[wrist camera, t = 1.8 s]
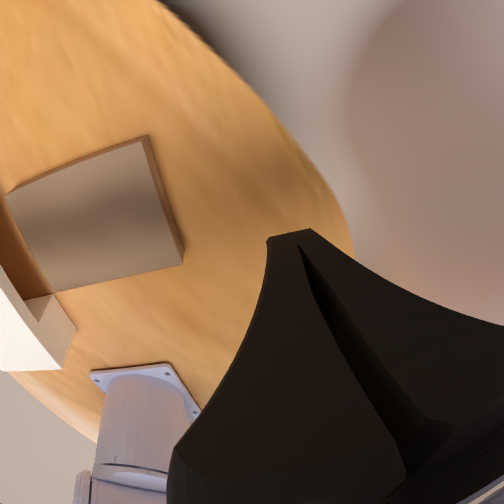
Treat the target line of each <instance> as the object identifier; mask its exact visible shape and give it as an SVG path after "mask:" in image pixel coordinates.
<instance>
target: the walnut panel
mask: <svg viewBox="0 0 504 504" xmlns="http://www.w3.org/2000/svg"><path fill="white" fill-rule="evenodd" d="M4 198H5V200H6V202H7V205H8V207H9V209H10V211H11V214H12V216H13V218H14V220H15V222H16V224H17V226H18V228H19V230H20V232H21V234H22V236H23V238H24V240H25V242H26V244H27V246H28V248H29V250H30V252H31V254H32V255H33V257H34V259H35V261H36V263H37V265H38V266H39V268H40V270H41V272H42V273H43V275H44V277H45V278H46V280H47V282H48V283H49V285H50V287H51V288H52V290H53V292H54V293H56V292H60V291H65V290H69V289H74V288H78V287H83V286H87V285H92V284H96V283H101V282H105V281H110V280H114V279H119V278H123V277H128V276H132V275H137V274H141V273H146V272H150V271H155V270H159V269H164V268H169V267H173V266H178V265H182V264H183V257H184V247H183V244H182V241H181V238H180V236H179V233H178V230H177V227H176V224H175V221H174V218H173V215H172V212H171V209H170V206H169V203H168V200H167V197H166V194H165V190H164V187H163V184H162V181H161V178H160V175H159V171H158V168H157V165H156V161H155V158H154V155H153V152H152V148H151V145H150V141H149V138H148V135H145V136H141V137H138V138H135V139H132V140H129V141H126V142H123V143H120V144H117V145H114V146H111V147H108V148H105V149H103V150H100V151H97V152H94V153H92V154H89V155H87V156H84V157H81V158H79V159H76V160H74V161H71V162H69V163H66V164H64V165H61V166H59V167H57V168H54V169H52V170H50V171H47V172H45V173H43V174H41V175H39V176H36V177H34V178H32V179H30V180H28V181H26V182H23V183H21V184H19V185H17V186H16V187H15V188H13V189H12V190H11V191H10V192H8V193H7V194H6V195H5V196H4Z"/></svg>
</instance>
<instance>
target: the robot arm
mask: <svg viewBox="0 0 504 504" xmlns="http://www.w3.org/2000/svg"><path fill="white" fill-rule="evenodd" d="M266 244H267V262H266V269H265V274H264V279H263V284H262V288H261V292H260V295H259V299H258V302H257V306H256V309H255V312H254V314H253V317H252V320H251V323H250V325H249V327H248V330H247V332H246V335H245V337H244V339H243V341H242V343H241V346H240V348H239V350H238V352H237V354H236V356H235V358H234V360H233V362H232V364H231V365H230V367H229V369H228V371H227V373H226V374H225V376H224V377H223V379H222V381H221V382H220V384H219V385H218V387H217V389H216V390H215V392H214V393H213V395H212V397H211V398H210V400H209V401H208V403H207V404H206V406H205V407H204V409H203V410H202V411H201V410H200V408H199V407H198V405H197V404H196V403H195V401H194V400H193V398H192V397H191V395H190V394H189V392H188V391H187V389H186V388H185V386H184V385H183V383H182V382H181V380H180V379H179V377H178V376H177V374H176V373H175V371H174V370H173V368H172V366H171V365H169V364H166V363H163V364H156V365H148V366H140V367H131V368H122V369H112V370H101V371H92V372H90V374H89V377H90V378H91V379H92V381H93V382H94V383H95V384H96V385H97V386H98V387H99V388H100V389H101V390H102V391H103V392H104V394H105V400H104V406H103V411H102V417H101V423H100V429H99V435H98V442H97V449H96V457H95V463H94V467H93V471H92V476H90V475H91V472H90V471H87V470H83V472H81V473H79V474H77V476H76V482H75V490H74V499H73V504H468V503H470V502H471V501H473V500H475V499H476V498H478V497H480V496H481V495H483V494H484V493H486V492H487V491H489V490H490V489H492V488H494V487H495V486H497V485H498V484H499V483H501V482H502V481H504V326H502V325H497V324H493V323H490V322H486V321H483V320H480V319H477V318H474V317H471V316H467V315H464V314H462V313H459V312H456V311H453V310H450V309H448V308H445V307H443V306H441V305H438V304H436V303H433V302H431V301H428V300H426V299H424V298H422V297H419V296H417V295H415V294H413V293H411V292H409V291H407V290H405V289H403V288H401V287H399V286H397V285H395V284H393V283H391V282H390V281H388V280H386V279H384V278H382V277H381V276H379V275H377V274H376V273H374V272H372V271H371V270H369V269H367V268H366V267H364V266H363V265H361V264H360V263H358V262H357V261H355V260H354V259H352V258H351V257H349V256H348V255H346V254H345V253H344V252H342V251H341V250H339V249H338V248H337V247H335V246H334V245H332V244H331V243H330V242H328V241H327V240H326V239H324V238H323V237H322V236H320V235H319V234H318V233H316V232H315V231H314V230H312V229H311V228H309V229H304V230H300V231H295V232H290V233H286V234H281V235H277V236H272V237H269V238H268V239H267V241H266ZM194 419H195V421H194ZM0 504H1V503H0ZM479 504H504V486H503V487H502V488H500V489H498V490H497V491H495V492H494V493H492V494H491V495H489V496H488V497H486V498H485V499H484V500H483V501H481V502H480V503H479Z"/></svg>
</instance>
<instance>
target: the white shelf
mask: <svg viewBox="0 0 504 504" xmlns="http://www.w3.org/2000/svg"><path fill="white" fill-rule="evenodd" d="M75 331H76V327H75V326H74V324H73V323H72V321H71V320H70V318H69V317H68V316H67V314H66V313H65V311H64V310H63V308H62V307H61V305H60V303H59V302H58V300H57V299H56V297H55V296H54V294H51V295H46V296H42V297H38V298H33V299H29V300H24V301H23V300H22V299H21V297H20V296H19V294H18V293H17V291H16V290H15V288H14V286H13V285H12V283H11V282H10V280H9V278H8V277H7V275H6V273H5V272H4V270H3V268H2V267H1V265H0V369H1V371H36V370H56V369H62V368H63V365H64V362H65V359H66V356H67V353H68V350H69V348H70V345H71V342H72V339H73V336H74V334H75Z"/></svg>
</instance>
